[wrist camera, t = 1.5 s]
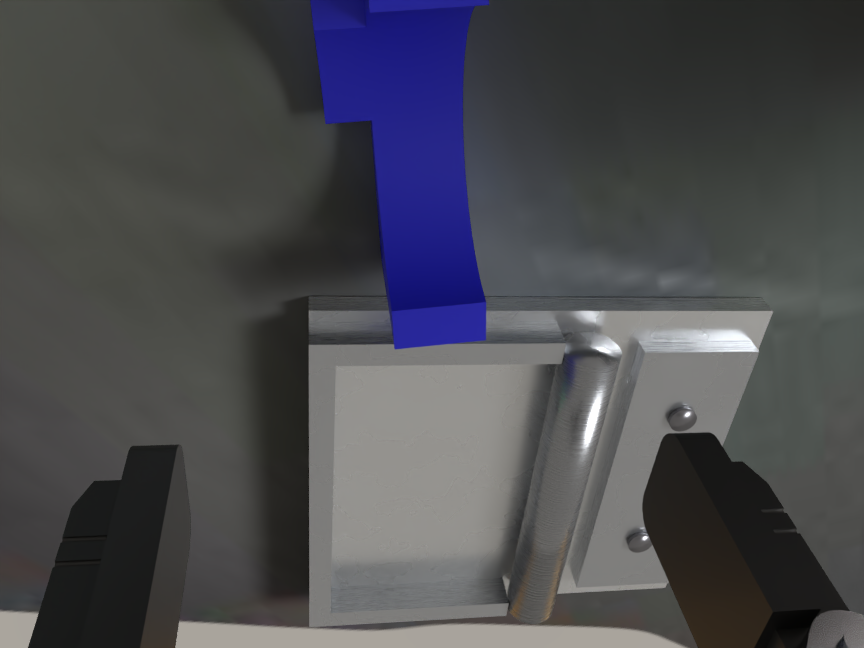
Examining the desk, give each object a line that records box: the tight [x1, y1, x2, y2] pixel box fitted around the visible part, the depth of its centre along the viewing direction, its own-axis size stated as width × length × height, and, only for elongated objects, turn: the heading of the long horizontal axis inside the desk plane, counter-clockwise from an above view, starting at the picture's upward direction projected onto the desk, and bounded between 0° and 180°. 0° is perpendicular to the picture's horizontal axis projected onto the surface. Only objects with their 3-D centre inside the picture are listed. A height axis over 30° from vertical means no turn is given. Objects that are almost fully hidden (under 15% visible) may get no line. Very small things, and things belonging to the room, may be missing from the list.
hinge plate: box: [309, 296, 773, 627], centre depth 36 cm, size 19×18×3 cm
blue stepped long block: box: [310, 0, 489, 349], centre depth 25 cm, size 12×4×6 cm, turn 2°
